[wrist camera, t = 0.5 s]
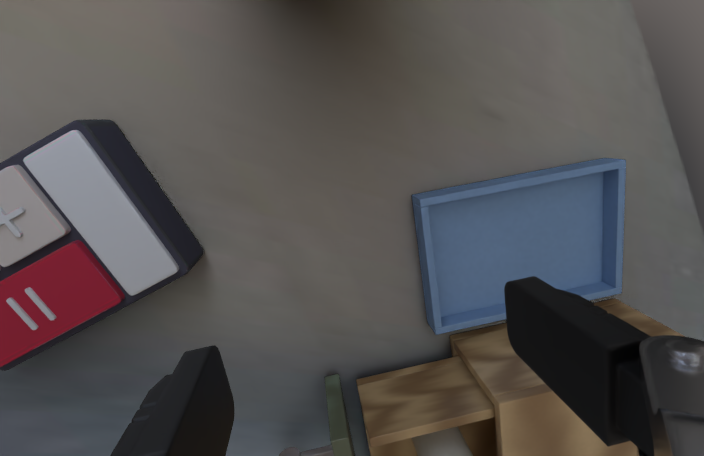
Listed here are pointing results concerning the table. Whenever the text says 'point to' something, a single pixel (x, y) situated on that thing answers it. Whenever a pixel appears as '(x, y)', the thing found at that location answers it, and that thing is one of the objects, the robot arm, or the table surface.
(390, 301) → the table surface
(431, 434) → the glue bottle
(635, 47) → the table surface
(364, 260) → the table surface
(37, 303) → the calculator
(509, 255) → the tray
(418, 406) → the drawer
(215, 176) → the table surface
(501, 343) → the cabinet
